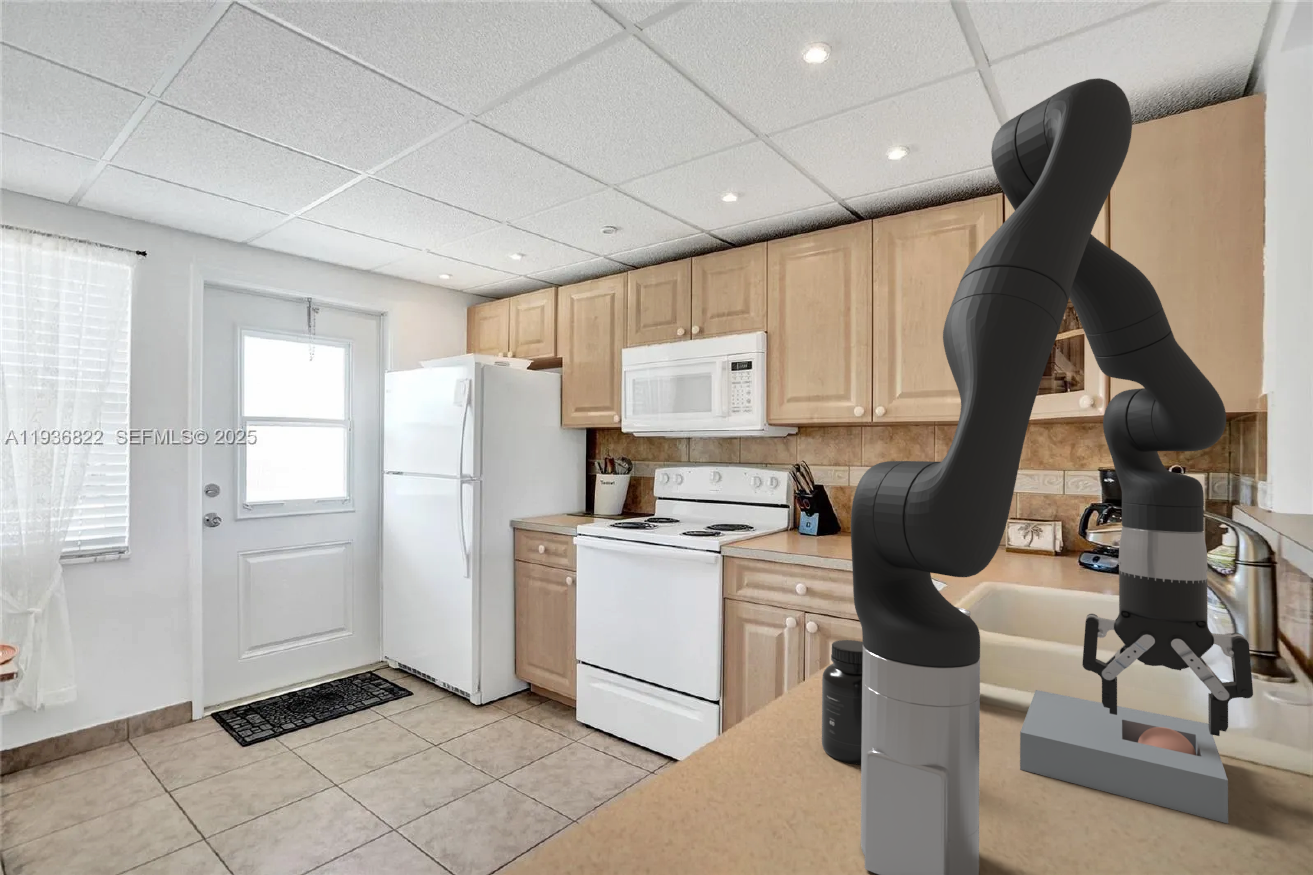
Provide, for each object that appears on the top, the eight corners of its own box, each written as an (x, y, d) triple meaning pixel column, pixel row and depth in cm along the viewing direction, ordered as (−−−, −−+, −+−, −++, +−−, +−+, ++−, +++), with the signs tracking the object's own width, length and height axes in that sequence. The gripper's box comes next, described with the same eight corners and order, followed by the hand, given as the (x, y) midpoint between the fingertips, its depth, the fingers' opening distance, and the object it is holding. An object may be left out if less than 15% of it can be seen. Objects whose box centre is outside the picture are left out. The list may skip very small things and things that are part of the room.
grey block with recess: (1228, 823, 60) (1227, 780, 60) (1020, 769, 70) (1020, 732, 70) (1209, 759, 73) (1208, 723, 73) (1035, 721, 83) (1035, 689, 83)
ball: (1169, 727, 67) (1126, 751, 69) (1213, 772, 65) (1167, 795, 67) (1166, 712, 71) (1125, 734, 73) (1207, 754, 69) (1163, 776, 71)
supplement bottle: (809, 742, 76) (811, 639, 76) (858, 735, 78) (859, 635, 78) (845, 770, 69) (846, 657, 70) (897, 760, 72) (898, 651, 72)
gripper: (1081, 567, 71) (1081, 717, 71) (1256, 585, 63) (1258, 754, 62) (1084, 559, 77) (1084, 697, 77) (1244, 574, 69) (1245, 728, 68)
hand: (1162, 722), depth 70 cm, fingers open, 8 cm apart
